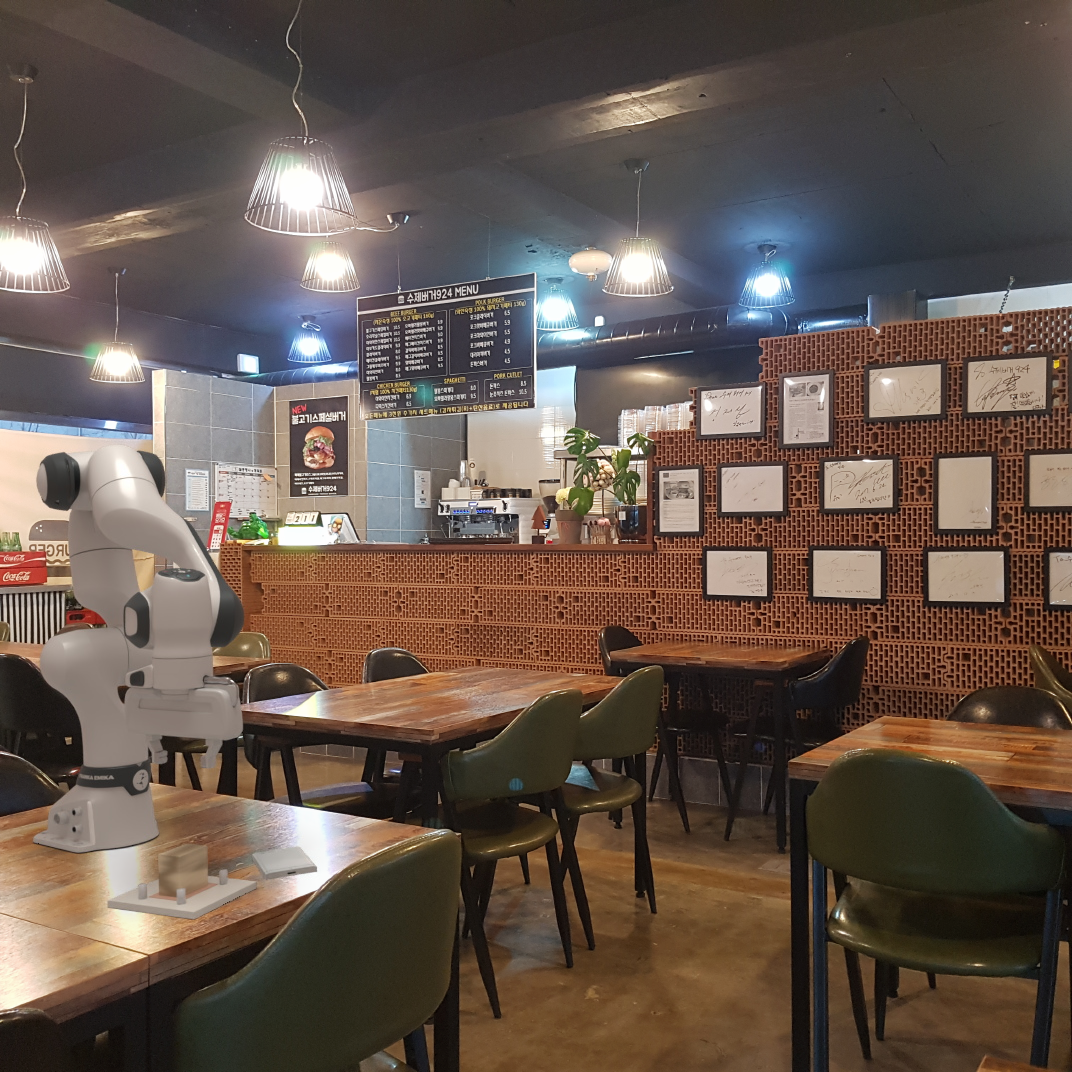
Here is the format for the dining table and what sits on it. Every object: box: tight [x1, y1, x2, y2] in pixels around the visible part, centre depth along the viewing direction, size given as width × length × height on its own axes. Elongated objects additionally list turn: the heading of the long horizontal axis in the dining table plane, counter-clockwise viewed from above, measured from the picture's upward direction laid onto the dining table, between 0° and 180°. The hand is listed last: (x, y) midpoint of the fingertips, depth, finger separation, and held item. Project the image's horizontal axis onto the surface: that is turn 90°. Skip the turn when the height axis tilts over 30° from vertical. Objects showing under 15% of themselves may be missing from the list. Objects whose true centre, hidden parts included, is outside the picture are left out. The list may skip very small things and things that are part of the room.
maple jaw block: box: [157, 843, 209, 897], centre depth 151 cm, size 4×6×6 cm, turn 158°
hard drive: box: [251, 846, 318, 881], centre depth 166 cm, size 2×8×12 cm
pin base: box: [107, 868, 258, 920], centre depth 151 cm, size 16×14×3 cm
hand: (183, 765), depth 153 cm, fingers open, 8 cm apart
